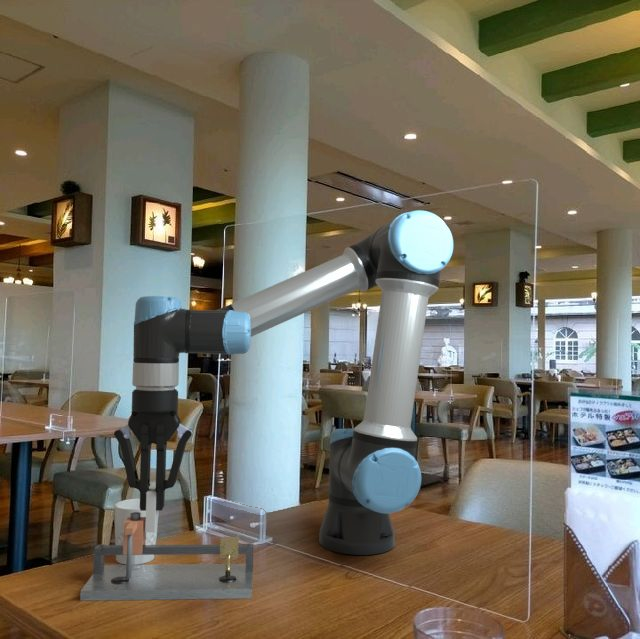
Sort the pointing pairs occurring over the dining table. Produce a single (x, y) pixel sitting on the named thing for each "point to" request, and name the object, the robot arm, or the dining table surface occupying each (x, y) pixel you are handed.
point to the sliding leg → (133, 538)
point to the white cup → (121, 514)
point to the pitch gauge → (173, 574)
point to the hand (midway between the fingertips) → (151, 529)
